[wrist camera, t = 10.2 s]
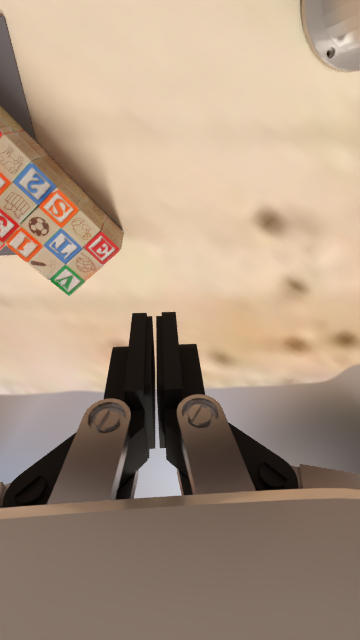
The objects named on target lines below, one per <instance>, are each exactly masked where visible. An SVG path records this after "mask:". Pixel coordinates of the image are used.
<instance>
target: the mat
mask: <svg viewBox="0 0 360 640" xmlns="http://www.w3.org/2000/svg"><path fill="white" fill-rule="evenodd" d="M0 106H1V107H2V108H3V109H4V110H5V111H6V112H7V113H8V114H9V115H10V116H11V117H12V118H13V119H14V120H15V121H16V122H17V123H18V124H19V125H20V126H21V127H22V128H23V130H24V131H25V132H27V133H28V134H29V136H30V137H31V138H32V139H33V140H34V141H35V142H36V139H35V135H34V131H33V127H32V123H31V119H30V115H29V111H28V107H27V103H26V99H25V95H24V91H23V87H22V83H21V79H20V75H19V71H18V67H17V63H16V59H15V55H14V51H13V47H12V43H11V39H10V36H9V32H8V28H7V24H6V20H5V17H4V16H0ZM0 255H17V254H16V253H14V252H13V251H12V250H11V249H10V248H8V247H7V245H6V246H4V247H3V248H2V249H1V250H0Z"/></svg>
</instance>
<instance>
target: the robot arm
mask: <svg viewBox="0 0 360 640" xmlns="http://www.w3.org/2000/svg"><path fill="white" fill-rule="evenodd" d="M301 13H302V23H303V29H304V32H305V36H306V40H307V42H308V44H309V46H310V48H311V50H312V52H313V53H314V55H315V56H316V57H317V58H318V60H319V61H320V62H322V63H323V64H324V65H326V66H327V67H328V68H331V69H333V70H336V71H341V72H353V71H359V70H360V0H302V6H301ZM327 51H328V52H329V55H328V57H327ZM156 328H157V403H158V421H159V439H160V448H166V457H167V458H166V459H167V460H168V461H169V462H170V463H171V464H172V465H174V466H175V467H176V468H177V475H178V480H179V484H180V489H181V494H182V496H168V497H153V498H138V499H134V494H135V489H136V484H137V478H138V469H139V468H140V467H141V466H142V465H143V464H144V463H145V462H146V461H147V458H149V449H154V448H155V358H154V340H153V322H152V316H147V313H133V314H132V322H131V331H130V340H129V346H128V347H113V349H112V354H111V360H110V366H109V371H108V377H107V383H106V388H105V394H104V400H100V401H98V402H96V403H94V404H93V405H91V406H90V407H89V408H88V409H87V411H86V412H85V414H84V416H83V418H82V420H81V423H80V425H79V428H78V430H77V432H76V433H75V434H73V435H72V436H71V437H69V438H68V439H67V440H65V441H64V442H63V443H62V444H60V445H59V446H58V447H56V448H55V449H53V450H52V451H51V452H50V453H48V454H47V455H46V456H44V457H43V458H42V459H40V460H39V461H38V462H36V463H35V464H34V465H32V466H31V467H30V468H28V469H27V470H26V471H24V472H23V473H22V474H20V475H19V476H18V477H17V478H16V479H15V480H14V481H13V482H12V483H9V484H6V485H4V484H3V482H0V640H360V474H358V473H352V472H345V471H339V470H333V469H327V468H321V467H315V466H309V465H303V464H300V465H299V467H295V466H290V465H289V464H288V463H287V462H286V461H285V460H283V459H282V458H281V457H279V456H278V455H276V454H275V453H273V452H272V451H270V450H269V449H267V448H266V447H264V446H263V445H261V444H260V443H258V442H257V441H255V440H254V439H252V438H251V437H249V436H248V435H246V434H245V433H243V432H242V431H240V430H239V429H237V428H236V427H234V426H233V425H231V424H230V423H228V421H227V419H226V417H225V414H224V411H223V409H222V407H221V405H220V404H219V403H218V402H217V401H216V400H215V399H214V398H212V397H209V396H207V395H205V391H204V385H203V379H202V374H201V368H200V362H199V356H198V350H197V345H196V344H181V345H179V343H178V333H177V322H176V312H162V316H156Z"/></svg>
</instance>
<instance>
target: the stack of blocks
mask: <svg viewBox="0 0 360 640" xmlns="http://www.w3.org/2000/svg"><path fill="white" fill-rule="evenodd" d="M123 235H124V233H123V232H122V230H121V229H120V228H119V227H118V226H117V225H116V224H115V223H114V222H113V221H112V220H111V219H110V218H109V217H108V216H107V215H106V214H105V213H104V212H103V211H102V210H101V209H100V208H99V207H98V206H97V205H96V204H95V203H94V202H93V201H92V200H91V199H90V198H89V197H88V196H87V195H86V194H85V193H84V192H83V191H82V190H81V188H80V187H79V186H78V185H77V184H76V183H75V182H74V181H73V180H72V179H71V178H70V177H68V175H67V174H66V173H65V172H64V171H63V170H62V169H61V168H60V167H59V166H58V165H57V164H56V163H55V162H54V161H53V160H52V158H51V157H50V156H49V155H47V153H46V152H45V151H44V150H43V149H42V148H41V147H40V146H39V145H38V144H37V143H36V142H35V141H34V140H33V139H32V138H31V137H30V136H29V134H28V133H27V132H25V131H24V130H23V128H22V127H21V126H20V125H19V124H18V123H17V122H16V121H15V120H14V119H13V118H12V117H11V116H10V115H9V114H8V113H7V112H6V111H5V110H4V109H3V108H2V107H1V106H0V250H1V249H2V248H3V247H4V246H6V245H7V247H8V248H10V249H11V250H12V251H13V252H14V253H16V254H17V255H18V256H19V257H20V258H22V259H23V260H24V261H26V262H28V264H29V265H31V266H32V267H33V268H34V269H36V270H37V271H38V272H39V273H41V274H42V275H43V276H44V277H46V278H47V279H48V280H51V282H52V283H54V284H55V285H56V286H57V287H59V288H60V289H61V290H62V291H64V292H65V293H66V294H67V295H69V296H70V295H71V294H72V293H74V292H75V291H76V290H77V289H78V288H79V287H80V286H81V285H82V284H84V283H85V281H86V280H87V279H88V278H90V277H91V276H92V275H93V274H94V273H95V272H97V271H98V270H99V269H100V268H101V267H102V266H103V265H104V264H105V263H106V262H107V261H109V260H110V259H111V258H112V257H113V256H114V255H116V254H117V253H118V252H119V251H120V250H121V247H122V240H123Z"/></svg>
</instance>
